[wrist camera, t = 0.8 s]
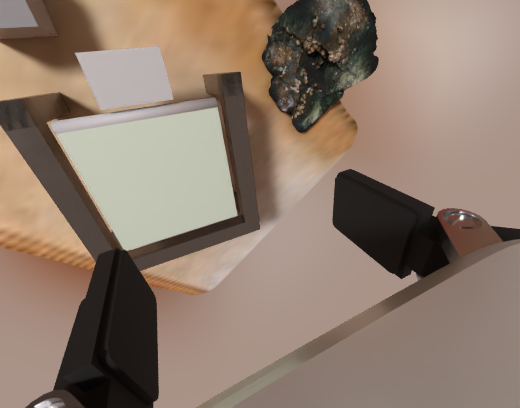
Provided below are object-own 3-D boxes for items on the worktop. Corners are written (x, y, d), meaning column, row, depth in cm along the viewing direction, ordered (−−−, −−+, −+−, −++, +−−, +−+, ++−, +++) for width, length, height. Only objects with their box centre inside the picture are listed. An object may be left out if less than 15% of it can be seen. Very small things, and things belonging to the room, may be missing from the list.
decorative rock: (323, 147, 36) (253, 97, 27) (303, 136, 41) (236, 89, 32) (405, 26, 31) (351, -88, 22) (370, 28, 35) (313, -65, 26)
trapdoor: (21, 59, 17) (8, 58, 15) (202, 44, 21) (207, 42, 19) (125, 243, 27) (124, 254, 26) (234, 210, 31) (238, 217, 30)
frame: (37, 95, 23) (-15, 103, 16) (218, 73, 29) (240, 71, 21) (118, 237, 33) (109, 281, 26) (240, 201, 39) (260, 229, 32)
